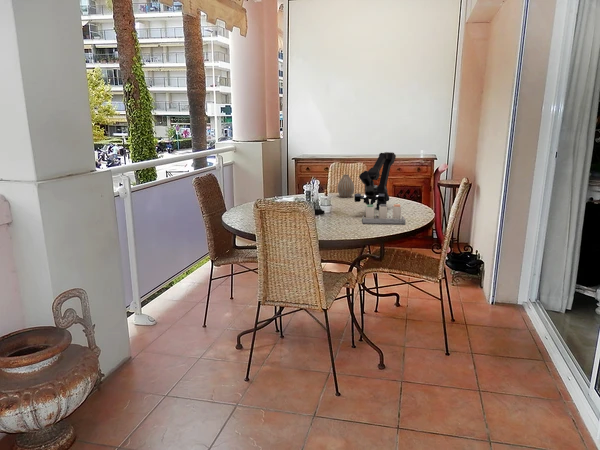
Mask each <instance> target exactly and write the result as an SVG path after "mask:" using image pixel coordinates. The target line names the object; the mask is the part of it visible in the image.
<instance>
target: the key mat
mask: <svg viewBox="0 0 600 450" xmlns="http://www.w3.org/2000/svg"><path fill="white" fill-rule="evenodd" d="M361 219H362V220H361V221H362V225H391V226H392V225H393V226H396V225H400V226H401V225H403V226H405V225H406V222H405V223H363V217H362V218H361Z"/></svg>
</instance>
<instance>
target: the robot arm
mask: <svg viewBox="0 0 600 450" xmlns="http://www.w3.org/2000/svg"><path fill="white" fill-rule="evenodd" d="M396 157H397V156H396V154H395V153H394V152H391V151H390V152H387V151H386V152H380V153H379V154H378V158H377V159H376V161H375V162H374V164H373V166H372V167H371V168H369V169H368V170H364V171H363V172H361V173H360V174H359V176H358V177H359V180H360V181H361V182H362V184H364V195H362V194H361V193H354V197H353V198H354V199H353V200H354V202H355V203H360V202H361V200H363V203H364V204H366V206H367V205H373V206H374V204H376V207H374V210H378V211H379V205H380V204H386V205H387V202H389V201H390V196H389V193H388V191H389V190H388V189H387V184H388V180H389V175H390V170H391V168H392V167H391V166H393V165H394V163H395V160H396ZM381 169H382V170H381ZM380 171H381V173H380ZM379 178H380V179H379ZM378 179H379V182H378V183H379V184H378V185H377V184H374V183H375V181H378ZM387 210H389V208H388V207H387Z"/></svg>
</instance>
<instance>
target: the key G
mask: <svg viewBox="0 0 600 450" xmlns="http://www.w3.org/2000/svg"><path fill="white" fill-rule="evenodd" d="M374 211H375V206H374V204H373V205H366V206H365V218H375V217H374V216H375V214H374V213H375V212H374Z"/></svg>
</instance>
